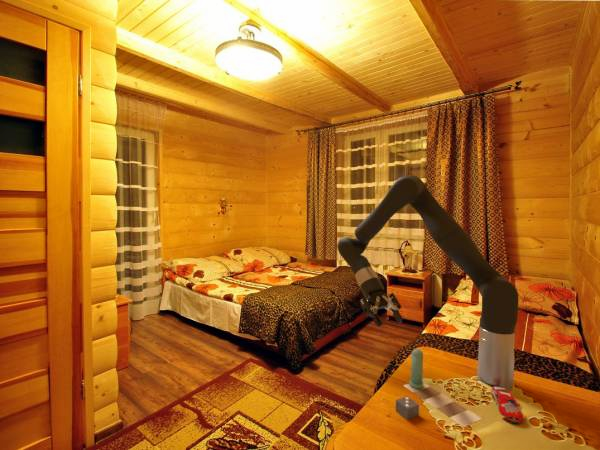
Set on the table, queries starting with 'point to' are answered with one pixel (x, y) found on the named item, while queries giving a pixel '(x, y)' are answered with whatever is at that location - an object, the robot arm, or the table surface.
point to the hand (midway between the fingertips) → (390, 324)
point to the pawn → (416, 369)
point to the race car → (507, 405)
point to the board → (449, 409)
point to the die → (407, 408)
